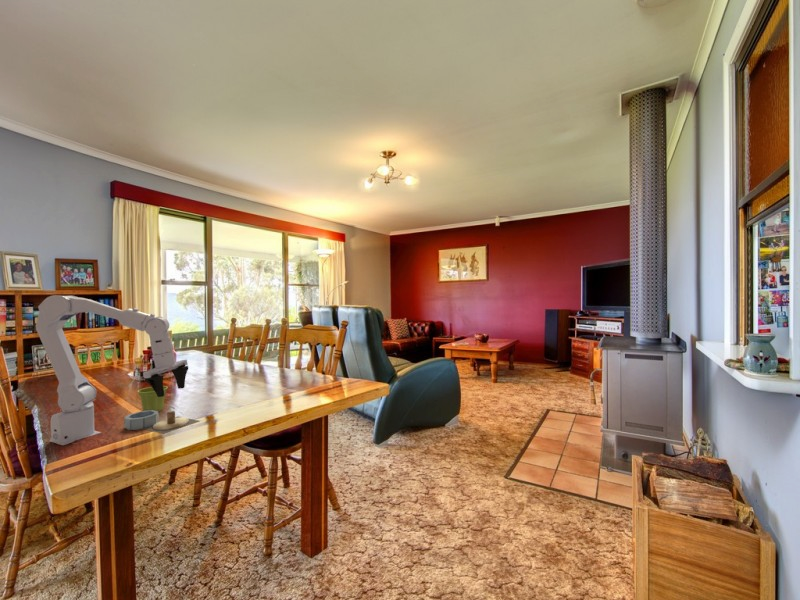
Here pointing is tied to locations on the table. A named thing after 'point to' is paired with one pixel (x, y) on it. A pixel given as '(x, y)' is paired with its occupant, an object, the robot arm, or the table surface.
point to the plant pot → (151, 399)
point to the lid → (170, 422)
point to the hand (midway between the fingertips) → (171, 392)
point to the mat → (170, 429)
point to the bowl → (141, 419)
